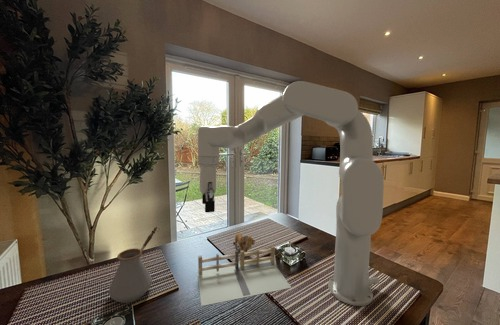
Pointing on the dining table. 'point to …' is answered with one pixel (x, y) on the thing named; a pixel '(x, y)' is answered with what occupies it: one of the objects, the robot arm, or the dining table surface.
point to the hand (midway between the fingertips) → (208, 207)
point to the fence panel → (218, 262)
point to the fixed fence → (271, 258)
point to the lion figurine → (243, 242)
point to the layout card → (240, 282)
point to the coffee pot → (131, 275)
